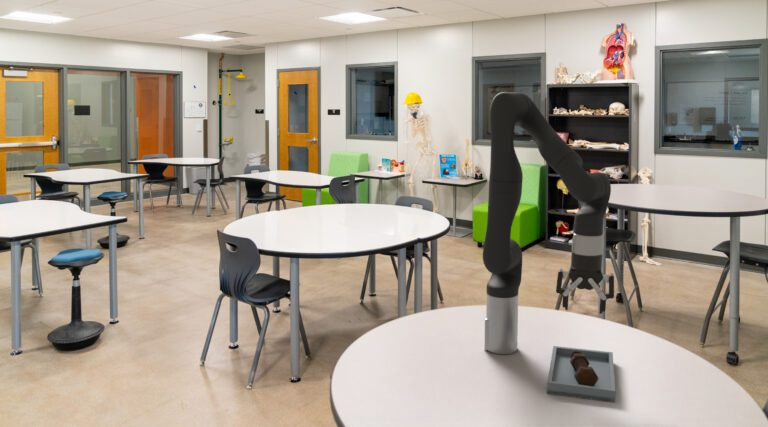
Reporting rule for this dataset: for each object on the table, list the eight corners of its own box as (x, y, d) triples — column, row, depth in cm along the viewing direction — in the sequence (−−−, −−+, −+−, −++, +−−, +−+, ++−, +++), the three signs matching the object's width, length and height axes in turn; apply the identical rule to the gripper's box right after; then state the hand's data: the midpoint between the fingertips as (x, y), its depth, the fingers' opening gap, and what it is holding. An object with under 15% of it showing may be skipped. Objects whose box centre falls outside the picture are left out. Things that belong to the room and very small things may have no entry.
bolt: (579, 369, 166) (589, 392, 151) (563, 359, 166) (571, 382, 151) (590, 352, 165) (602, 374, 150) (574, 342, 165) (584, 364, 150)
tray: (546, 393, 151) (547, 382, 150) (553, 355, 173) (553, 345, 173) (614, 402, 146) (615, 391, 145) (612, 362, 168) (612, 352, 167)
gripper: (557, 252, 152) (554, 312, 155) (617, 256, 147) (612, 318, 150) (559, 245, 159) (556, 303, 162) (616, 249, 154) (612, 309, 157)
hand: (583, 310), depth 156 cm, fingers open, 8 cm apart
